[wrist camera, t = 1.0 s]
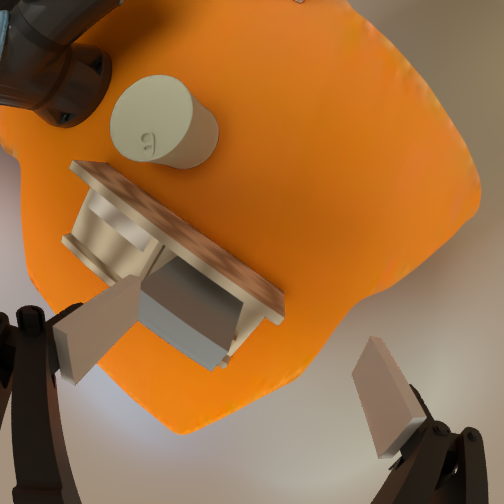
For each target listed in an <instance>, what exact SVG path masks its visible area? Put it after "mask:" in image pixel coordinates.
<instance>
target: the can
mask: <svg viewBox="0 0 504 504" xmlns="http://www.w3.org/2000/svg"><path fill="white" fill-rule="evenodd" d="M110 134H111V138H112V141H113V143H114V146H115V147H116V149H117V150H118V151H119V152H120V153H121V154H122V155H123V156H125V157H126V158H128V159H130V160H133V161H137V162H151V163H157V164H163V165H168V166H170V167H173V168H177V169H188V168H193V167H195V166H198V165H199V164H201V163H203V162H204V161H205V160H206V159H207V158H208V157H209V156H210V155H211V154H212V152H213V151H214V149H215V147H216V145H217V142H218V137H219V128H218V124H217V121H216V119H215V117H214V115H213V114H212V113H211V112H210V111H209V110H208V109H206V108H205V107H204V106H203V105H202V104H201V103H200V102H199V101H198V100H197V99H196V98H195V97H194V96H193V95H192V94H191V93H190V92H189V90H188V89H187V87H186V86H185V85H184V84H183V83H182V82H181V81H179V80H178V79H176V78H174V77H171V76H167V75H152V76H148V77H145V78H143V79H140V80H139V81H137V82H135V83H134V84H132V85H131V86H130V87H129V88H127V89H126V90H125V91H124V93H123V94H122V95H121V96H120V98H119V99H118V101H117V103H116V104H115V107H114V109H113V112H112V115H111V120H110Z"/></svg>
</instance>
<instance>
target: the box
mask: <svg viewBox="0 0 504 504" xmlns="http://www.w3.org/2000/svg"><path fill="white" fill-rule="evenodd" d="M19 1H20V0H0V11H2V10H8V11H9V12H10V11H11V10H12V9H13V8H14V7H15V6H16V5H17V4H18V3H19Z"/></svg>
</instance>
